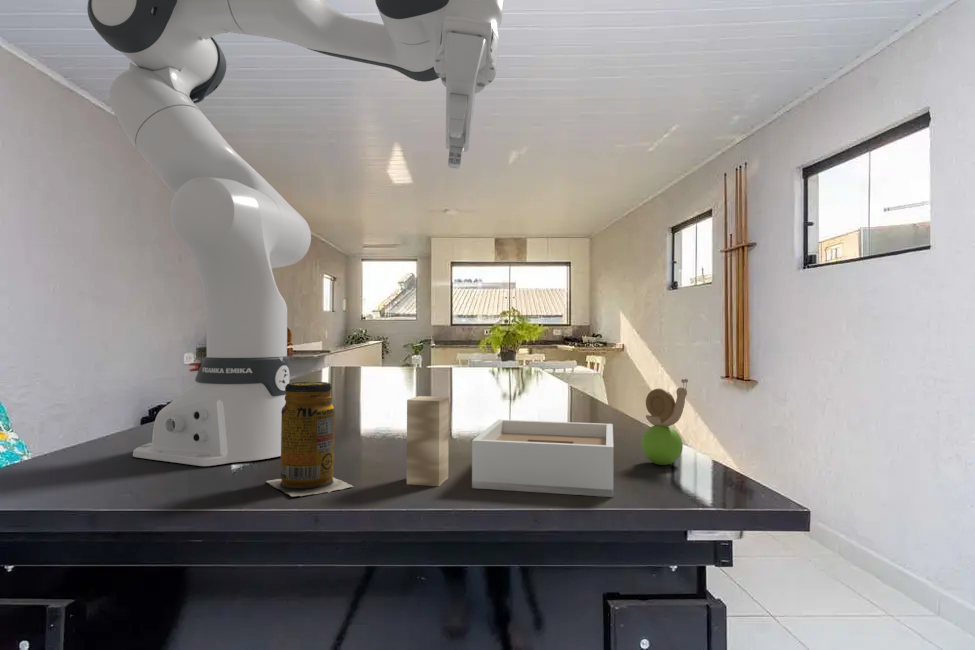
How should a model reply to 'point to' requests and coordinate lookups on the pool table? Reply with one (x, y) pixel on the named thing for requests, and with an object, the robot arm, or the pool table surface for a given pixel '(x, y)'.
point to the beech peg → (427, 440)
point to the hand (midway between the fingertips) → (454, 151)
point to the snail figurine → (663, 426)
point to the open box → (544, 457)
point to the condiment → (307, 441)
